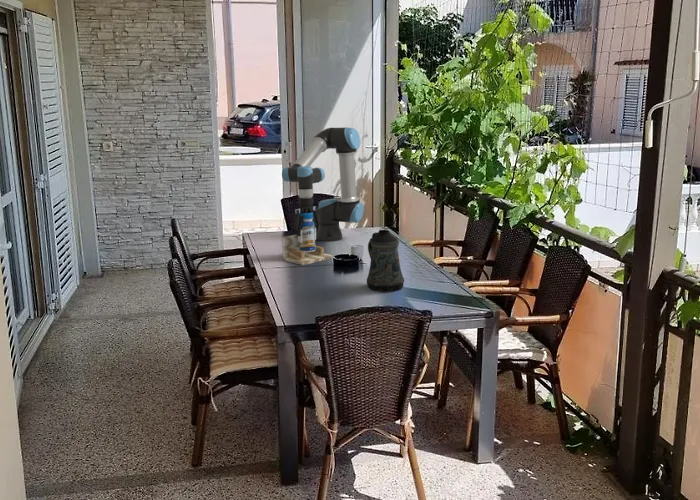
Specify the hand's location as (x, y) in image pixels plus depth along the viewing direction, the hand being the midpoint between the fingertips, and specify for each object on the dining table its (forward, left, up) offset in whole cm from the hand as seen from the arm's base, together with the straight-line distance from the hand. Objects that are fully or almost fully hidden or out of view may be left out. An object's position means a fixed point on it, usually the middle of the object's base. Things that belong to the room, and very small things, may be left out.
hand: (307, 240), depth 352 cm
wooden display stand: (0, 0, -10) cm, 10 cm away
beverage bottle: (0, 0, -6) cm, 6 cm away
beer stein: (+10, +64, -10) cm, 66 cm away
